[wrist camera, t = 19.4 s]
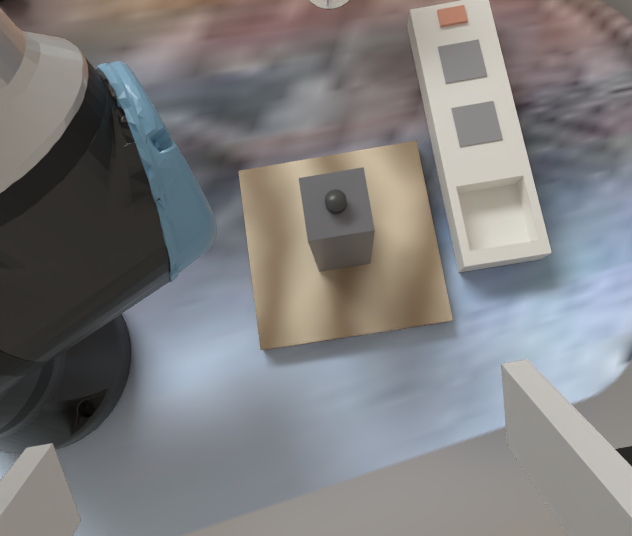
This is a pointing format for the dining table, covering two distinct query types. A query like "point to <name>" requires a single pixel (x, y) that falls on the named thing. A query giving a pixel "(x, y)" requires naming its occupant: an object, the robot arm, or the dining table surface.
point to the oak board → (351, 282)
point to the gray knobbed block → (338, 218)
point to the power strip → (476, 137)
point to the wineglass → (329, 3)
